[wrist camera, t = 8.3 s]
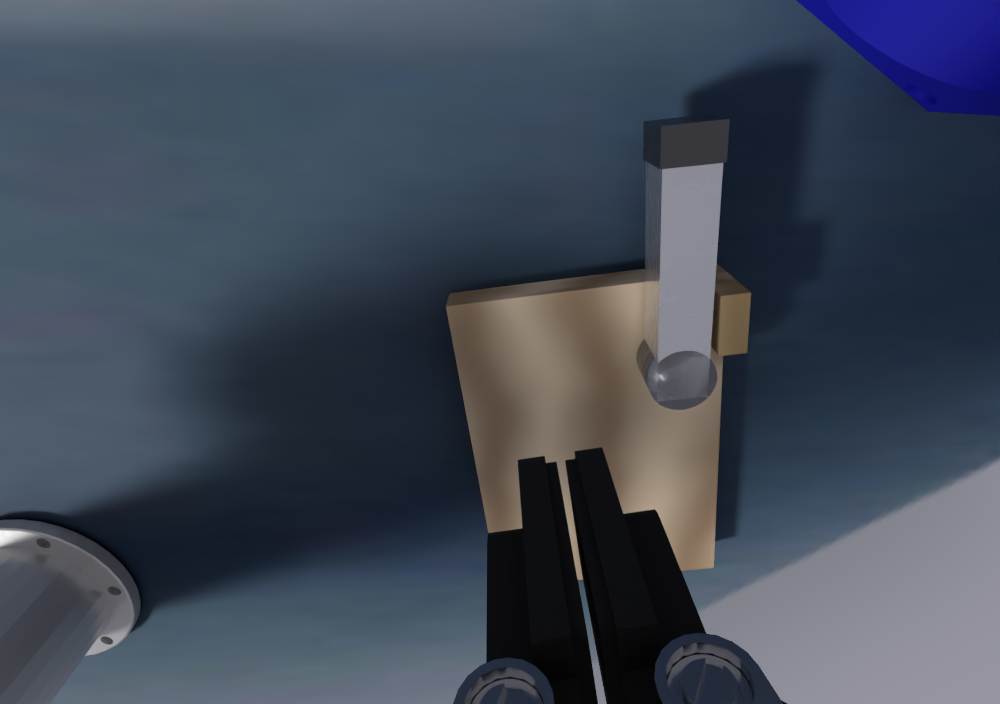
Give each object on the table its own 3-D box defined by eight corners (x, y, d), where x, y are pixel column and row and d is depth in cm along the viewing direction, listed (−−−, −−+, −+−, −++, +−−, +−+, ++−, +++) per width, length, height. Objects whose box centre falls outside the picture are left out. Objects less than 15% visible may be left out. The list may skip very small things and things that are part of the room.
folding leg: (696, 378, 30) (715, 408, 27) (635, 383, 30) (648, 413, 27) (711, 113, 24) (738, 117, 21) (636, 122, 24) (653, 127, 21)
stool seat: (498, 563, 39) (498, 626, 34) (449, 293, 30) (439, 329, 26) (703, 544, 38) (730, 607, 33) (713, 260, 29) (751, 292, 25)
